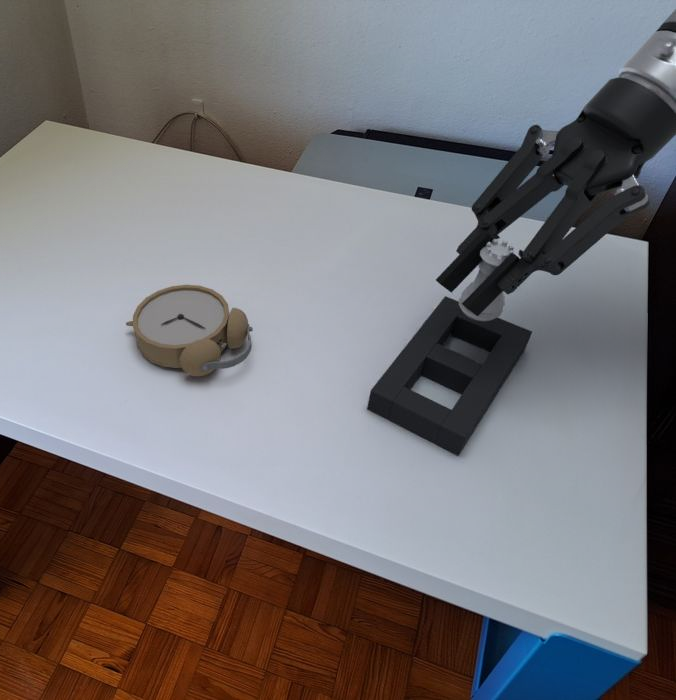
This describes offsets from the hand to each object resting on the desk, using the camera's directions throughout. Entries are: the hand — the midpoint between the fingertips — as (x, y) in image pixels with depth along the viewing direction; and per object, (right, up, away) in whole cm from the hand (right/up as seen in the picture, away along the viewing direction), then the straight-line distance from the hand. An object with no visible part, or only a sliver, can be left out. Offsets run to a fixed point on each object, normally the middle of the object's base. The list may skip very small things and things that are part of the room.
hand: (456, 297), depth 68 cm
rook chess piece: (+4, -1, +3) cm, 5 cm away
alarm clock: (-26, -5, +12) cm, 29 cm away
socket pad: (+1, -8, +7) cm, 11 cm away
